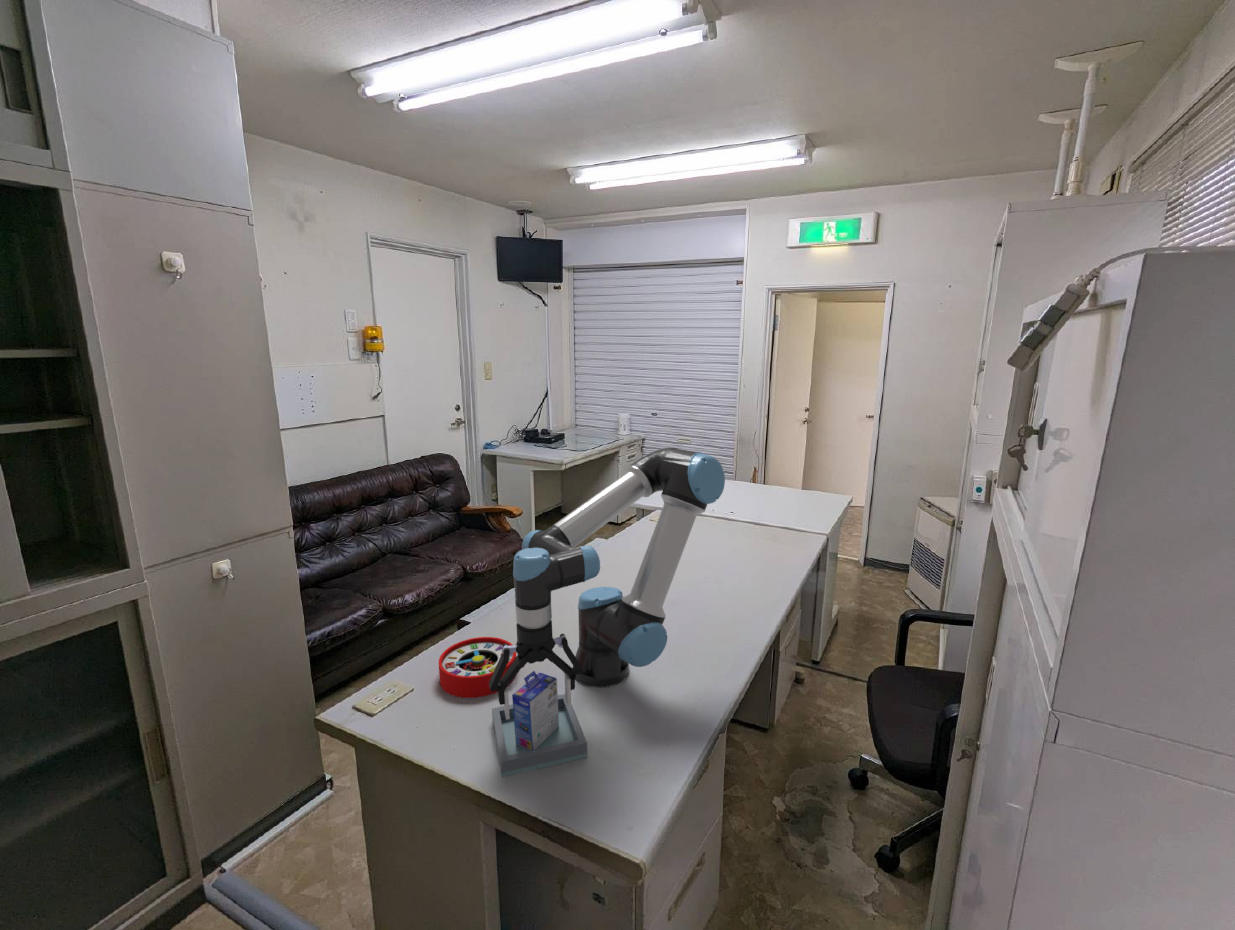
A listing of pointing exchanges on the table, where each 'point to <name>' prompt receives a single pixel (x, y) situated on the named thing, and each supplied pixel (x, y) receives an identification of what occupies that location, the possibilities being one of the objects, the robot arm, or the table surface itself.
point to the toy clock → (471, 666)
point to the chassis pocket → (554, 750)
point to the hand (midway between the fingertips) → (538, 708)
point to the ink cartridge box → (535, 710)
